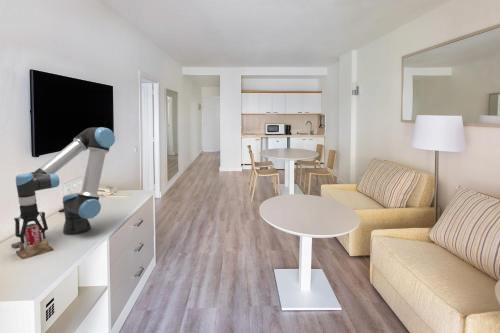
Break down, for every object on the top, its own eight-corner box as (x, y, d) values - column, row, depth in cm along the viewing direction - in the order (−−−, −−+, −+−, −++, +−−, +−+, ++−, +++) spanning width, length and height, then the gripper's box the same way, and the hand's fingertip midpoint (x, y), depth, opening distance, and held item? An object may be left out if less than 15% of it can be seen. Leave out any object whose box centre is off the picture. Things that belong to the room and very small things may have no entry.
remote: (15, 249, 184) (15, 245, 184) (11, 247, 187) (11, 243, 186) (45, 239, 198) (45, 235, 197) (41, 238, 200) (41, 234, 200)
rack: (45, 244, 188) (44, 235, 187) (53, 250, 180) (52, 240, 179) (16, 253, 178) (14, 243, 177) (23, 259, 170) (21, 248, 169)
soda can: (44, 244, 183) (41, 222, 181) (38, 249, 176) (35, 227, 174) (30, 245, 182) (27, 223, 180) (23, 250, 175) (20, 228, 173)
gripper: (46, 198, 185) (52, 238, 188) (2, 207, 170) (9, 250, 174) (51, 200, 180) (57, 242, 183) (7, 209, 165) (14, 254, 169)
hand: (34, 246), depth 179 cm, fingers closed on soda can, 7 cm apart
